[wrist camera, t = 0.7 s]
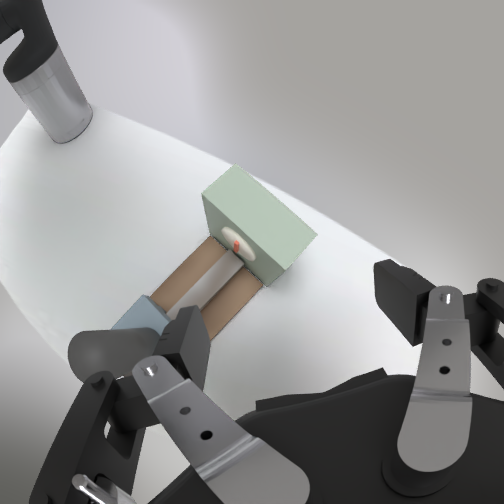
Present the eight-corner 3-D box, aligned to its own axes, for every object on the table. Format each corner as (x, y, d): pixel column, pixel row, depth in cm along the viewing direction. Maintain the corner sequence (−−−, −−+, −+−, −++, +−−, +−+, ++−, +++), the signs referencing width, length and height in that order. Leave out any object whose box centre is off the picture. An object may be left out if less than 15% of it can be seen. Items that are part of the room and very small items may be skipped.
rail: (107, 345, 31) (97, 346, 28) (210, 237, 36) (209, 230, 33) (155, 395, 30) (149, 401, 27) (262, 285, 35) (265, 282, 32)
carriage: (115, 336, 30) (31, 343, 14) (152, 297, 32) (85, 275, 15) (161, 383, 29) (104, 435, 13) (199, 345, 31) (169, 372, 14)
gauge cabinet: (205, 237, 36) (195, 198, 24) (233, 210, 37) (235, 163, 25) (263, 290, 35) (280, 276, 23) (289, 261, 36) (317, 234, 24)
